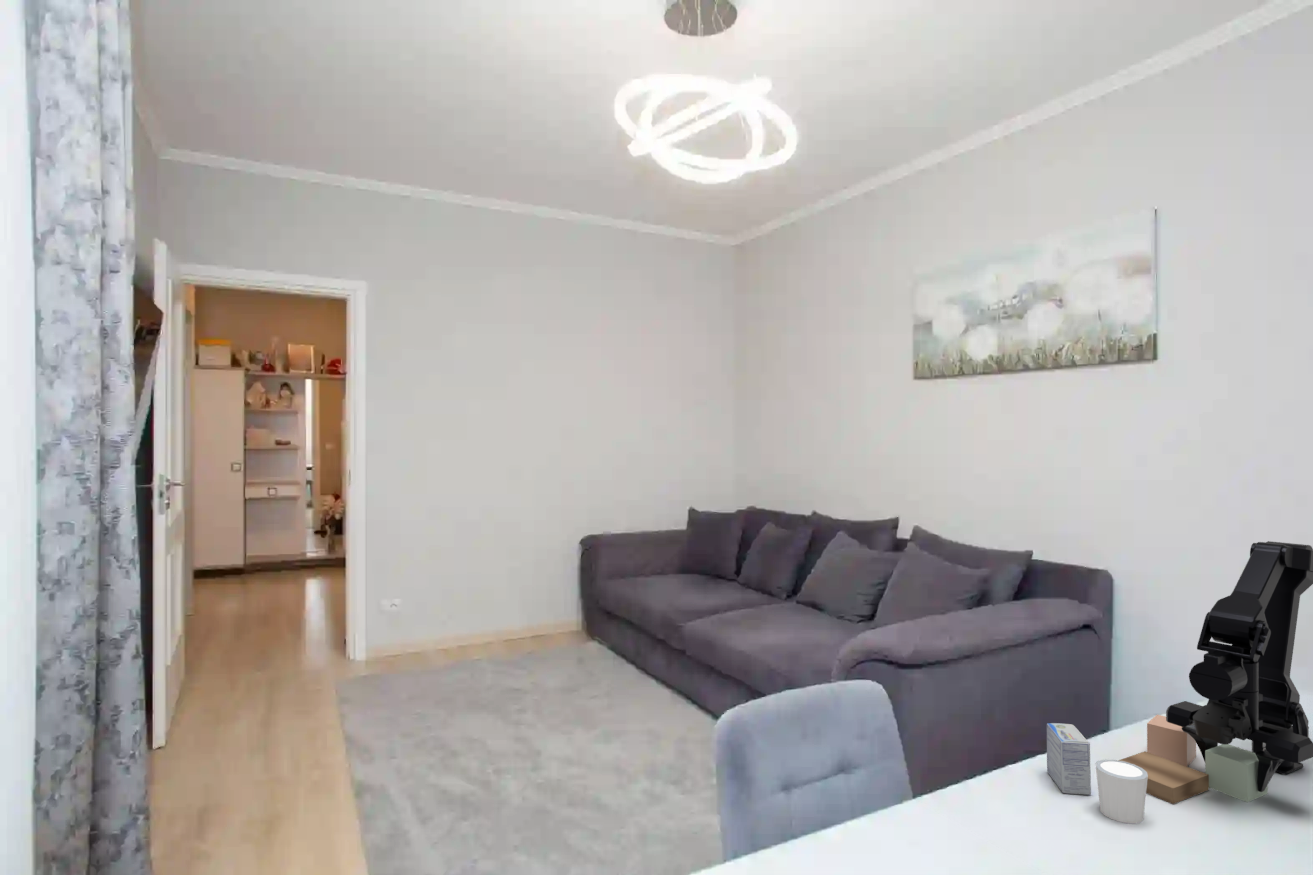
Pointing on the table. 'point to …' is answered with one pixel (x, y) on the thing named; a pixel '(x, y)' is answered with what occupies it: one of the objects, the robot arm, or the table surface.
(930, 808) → the table surface
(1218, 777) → the sage cube
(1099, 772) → the white tapered cylinder
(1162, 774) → the walnut block
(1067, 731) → the medicine box
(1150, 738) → the clay cube
